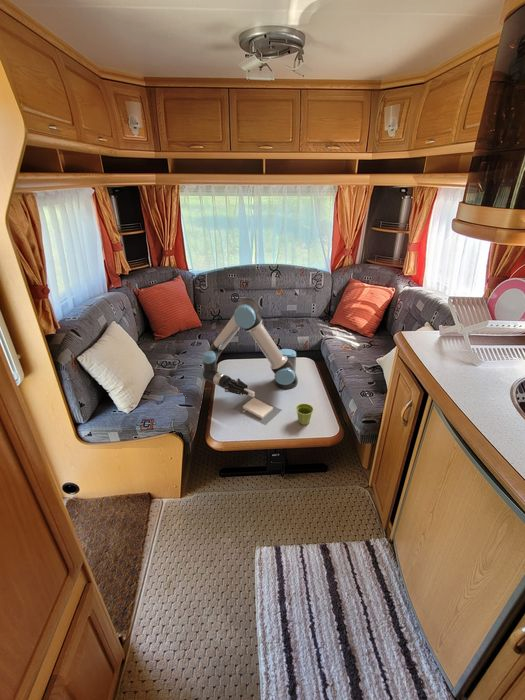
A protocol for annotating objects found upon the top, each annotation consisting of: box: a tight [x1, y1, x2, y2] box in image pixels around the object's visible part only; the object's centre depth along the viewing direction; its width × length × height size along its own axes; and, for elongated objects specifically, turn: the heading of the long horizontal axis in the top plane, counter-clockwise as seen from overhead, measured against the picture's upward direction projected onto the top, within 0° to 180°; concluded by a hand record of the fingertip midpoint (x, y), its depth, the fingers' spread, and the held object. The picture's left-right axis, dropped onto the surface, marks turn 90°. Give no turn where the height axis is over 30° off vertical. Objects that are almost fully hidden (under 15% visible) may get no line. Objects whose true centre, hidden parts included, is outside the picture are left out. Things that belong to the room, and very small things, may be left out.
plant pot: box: [295, 403, 315, 426], centre depth 187 cm, size 9×9×9 cm
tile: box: [243, 397, 273, 419], centre depth 196 cm, size 2×10×14 cm
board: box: [231, 395, 283, 426], centre depth 197 cm, size 24×16×2 cm, turn 53°
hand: (253, 394), depth 193 cm, fingers closed
